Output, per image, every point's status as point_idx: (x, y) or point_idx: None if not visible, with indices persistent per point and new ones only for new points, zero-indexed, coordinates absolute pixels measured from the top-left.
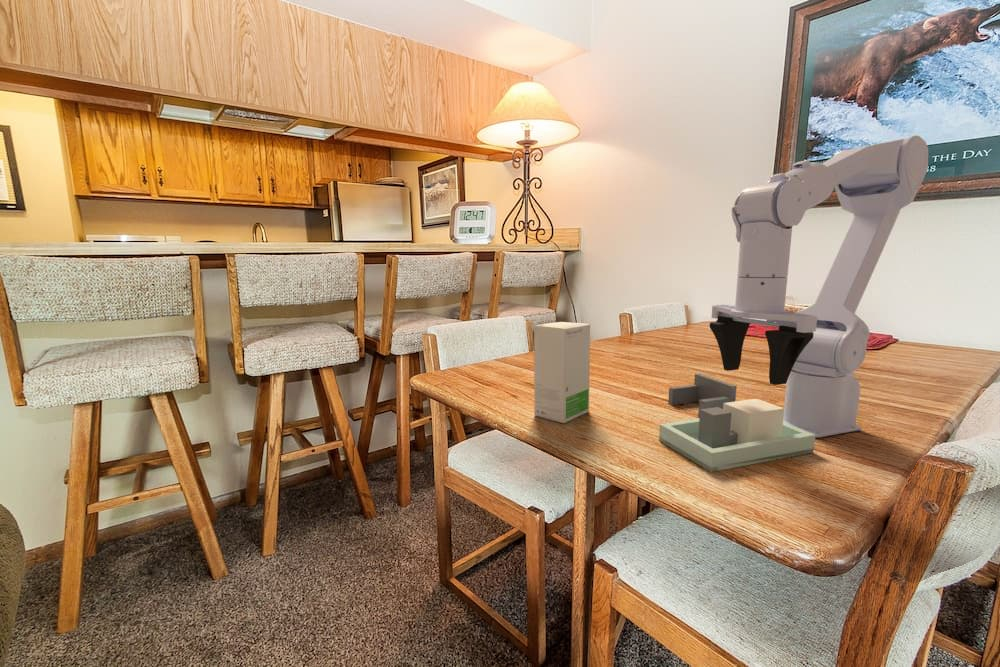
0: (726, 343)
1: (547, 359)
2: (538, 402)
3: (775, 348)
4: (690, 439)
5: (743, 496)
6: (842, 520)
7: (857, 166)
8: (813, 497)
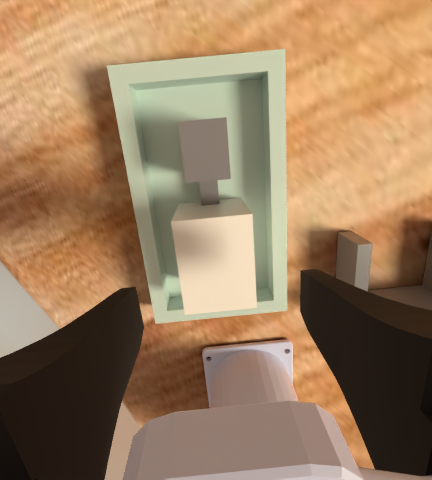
0: (353, 319)
1: None
2: None
3: (30, 353)
4: (182, 65)
5: (29, 71)
6: None
7: None
8: (23, 187)
